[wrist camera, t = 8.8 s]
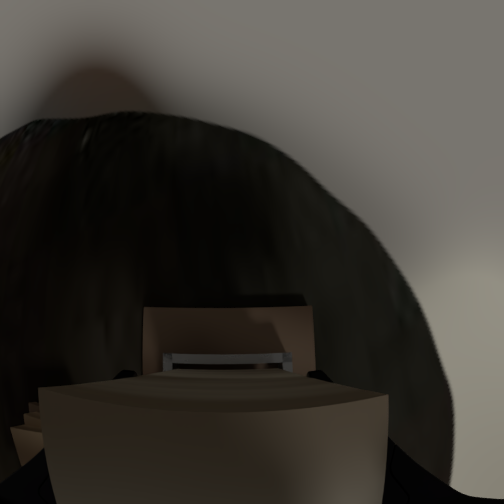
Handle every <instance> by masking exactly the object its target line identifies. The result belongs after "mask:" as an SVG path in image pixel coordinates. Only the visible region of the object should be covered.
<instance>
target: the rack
mask: <svg viewBox="0 0 504 504" xmlns="http://www.w3.org/2000/svg"><path fill="white" fill-rule="evenodd" d="M275 368H278V369H282V370H285V371H289V372H292V373H296V374H299V375H303V376H306V375H307V373H308V372H309V371H315V370H316V368H315V346H314V328H313V313H312V306H293V307H261V308H164V307H144V315H143V375H147V374H153V373H158V372H164V371H169V370H174V369H193V370H251V369H275ZM32 412H38V413H40V410H39V403H37V402H30V403H29V413H32Z"/></svg>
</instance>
